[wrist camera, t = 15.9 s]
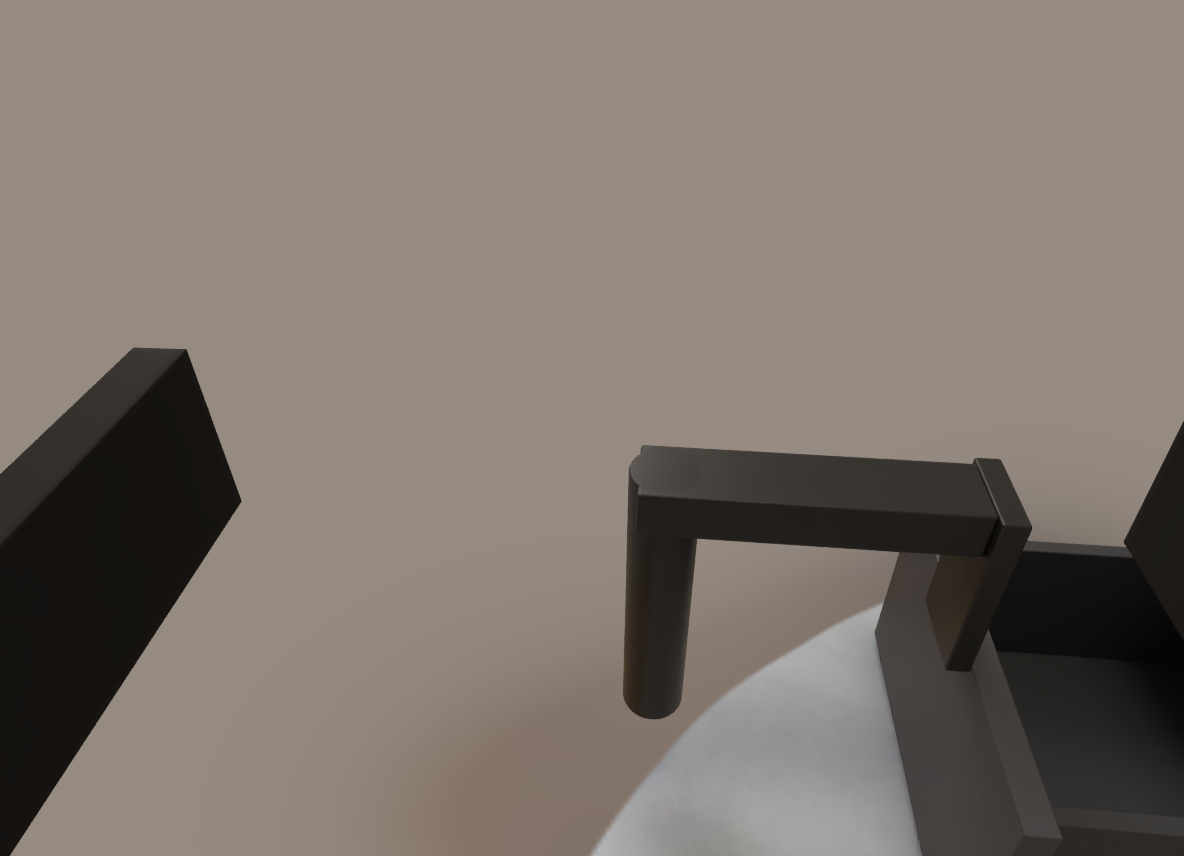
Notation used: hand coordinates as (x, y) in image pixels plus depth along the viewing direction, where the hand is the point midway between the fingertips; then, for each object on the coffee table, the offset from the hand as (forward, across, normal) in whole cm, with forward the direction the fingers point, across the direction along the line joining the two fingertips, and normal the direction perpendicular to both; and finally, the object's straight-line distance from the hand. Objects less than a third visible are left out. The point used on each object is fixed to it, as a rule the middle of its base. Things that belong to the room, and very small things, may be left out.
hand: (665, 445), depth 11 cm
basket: (+10, +11, -23) cm, 28 cm away
